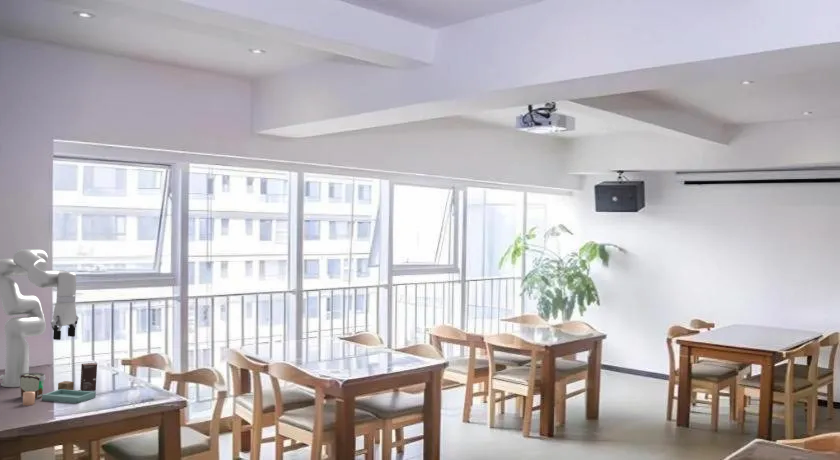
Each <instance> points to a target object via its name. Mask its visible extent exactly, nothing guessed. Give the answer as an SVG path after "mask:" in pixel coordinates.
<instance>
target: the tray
mask: <svg viewBox="0 0 840 460" xmlns="http://www.w3.org/2000/svg"><path fill="white" fill-rule="evenodd" d="M96 393H97V392H96V391H91V390H88V391H81V390H77V389H76V390H74V389H73V390H65V389H59V390H58V389H57V390H53V391H49V392H47V393H42V397H41V401H46V402H55V403H56V402H58V403H68V404H69V403H70V404H71V403H72V404H80V403H83V402H86V401H89V400H91V399H94V398H96V395H97V394H96Z"/></svg>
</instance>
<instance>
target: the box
mask: <svg viewBox="0 0 840 460" xmlns="http://www.w3.org/2000/svg"><path fill="white" fill-rule="evenodd" d="M80 367H81V369H80V387H79V391H96V390H97V374H98V364H97V363H96V362H87V363H81V366H80Z"/></svg>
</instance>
